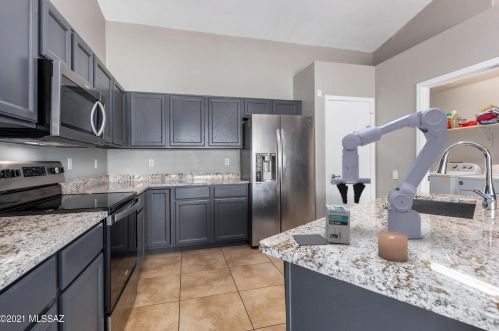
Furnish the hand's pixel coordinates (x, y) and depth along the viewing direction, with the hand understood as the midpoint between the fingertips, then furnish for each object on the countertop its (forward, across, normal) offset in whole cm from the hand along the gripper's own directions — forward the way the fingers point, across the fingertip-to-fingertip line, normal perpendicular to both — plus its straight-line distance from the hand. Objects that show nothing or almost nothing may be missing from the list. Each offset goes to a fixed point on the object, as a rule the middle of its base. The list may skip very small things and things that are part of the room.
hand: (350, 203), depth 90 cm
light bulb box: (+10, +9, +8) cm, 16 cm away
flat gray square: (+10, +18, +8) cm, 22 cm away
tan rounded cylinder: (+10, 0, +24) cm, 26 cm away
